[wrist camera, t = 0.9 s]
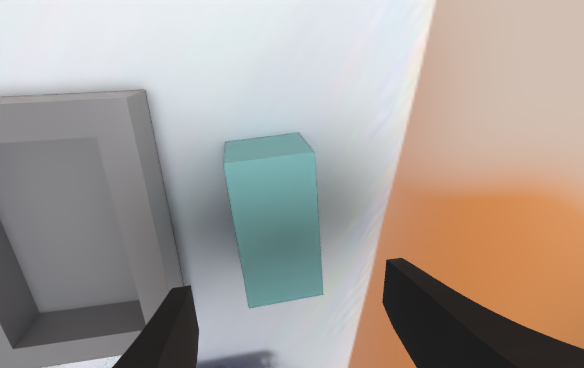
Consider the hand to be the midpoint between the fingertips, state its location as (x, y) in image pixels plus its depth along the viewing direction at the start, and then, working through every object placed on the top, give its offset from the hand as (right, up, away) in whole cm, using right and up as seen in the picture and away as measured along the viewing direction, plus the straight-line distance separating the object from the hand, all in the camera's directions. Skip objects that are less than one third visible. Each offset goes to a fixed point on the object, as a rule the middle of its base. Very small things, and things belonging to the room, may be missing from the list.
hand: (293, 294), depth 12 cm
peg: (-1, +3, +7) cm, 8 cm away
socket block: (-12, +2, +6) cm, 13 cm away
